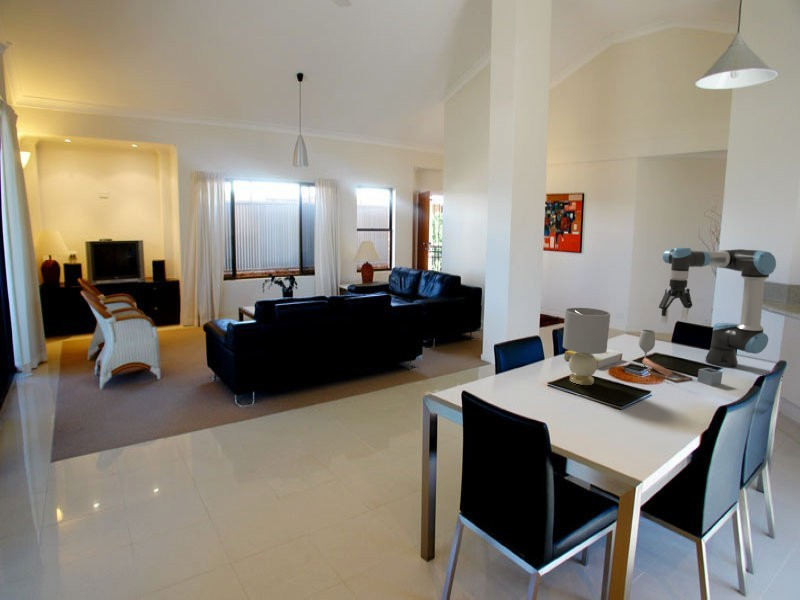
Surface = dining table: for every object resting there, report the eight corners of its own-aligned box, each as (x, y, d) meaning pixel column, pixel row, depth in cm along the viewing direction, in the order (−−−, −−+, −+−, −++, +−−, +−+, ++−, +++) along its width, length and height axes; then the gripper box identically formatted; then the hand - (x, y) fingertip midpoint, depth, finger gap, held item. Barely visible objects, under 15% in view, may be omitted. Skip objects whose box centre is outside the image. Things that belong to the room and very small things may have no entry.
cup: (706, 382, 242) (708, 367, 241) (720, 386, 236) (722, 372, 234) (696, 383, 239) (698, 369, 238) (710, 388, 233) (712, 373, 232)
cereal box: (564, 351, 274) (590, 343, 292) (563, 360, 275) (589, 352, 293) (598, 360, 259) (623, 351, 277) (597, 370, 260) (622, 361, 278)
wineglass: (653, 371, 257) (658, 333, 254) (638, 370, 259) (642, 332, 255) (649, 367, 265) (653, 329, 261) (634, 366, 266) (638, 328, 262)
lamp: (609, 382, 239) (616, 311, 233) (593, 392, 224) (600, 317, 218) (570, 372, 252) (575, 306, 246) (552, 381, 238) (558, 311, 232)
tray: (660, 371, 258) (660, 367, 258) (691, 382, 242) (692, 377, 241) (643, 373, 254) (643, 369, 253) (674, 384, 237) (674, 380, 237)
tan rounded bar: (674, 372, 245) (651, 351, 257) (669, 373, 244) (646, 351, 256) (667, 383, 249) (645, 361, 261) (662, 384, 248) (640, 362, 260)
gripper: (689, 277, 247) (685, 318, 251) (653, 279, 238) (649, 321, 241) (703, 279, 240) (698, 321, 244) (667, 281, 231) (662, 324, 235)
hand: (674, 321), depth 243 cm, fingers open, 13 cm apart
